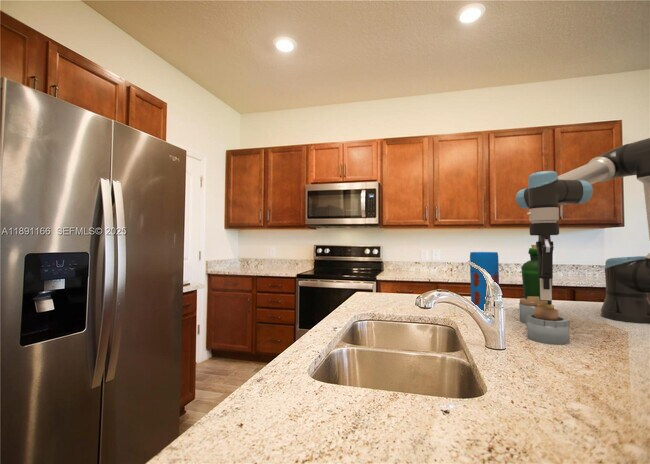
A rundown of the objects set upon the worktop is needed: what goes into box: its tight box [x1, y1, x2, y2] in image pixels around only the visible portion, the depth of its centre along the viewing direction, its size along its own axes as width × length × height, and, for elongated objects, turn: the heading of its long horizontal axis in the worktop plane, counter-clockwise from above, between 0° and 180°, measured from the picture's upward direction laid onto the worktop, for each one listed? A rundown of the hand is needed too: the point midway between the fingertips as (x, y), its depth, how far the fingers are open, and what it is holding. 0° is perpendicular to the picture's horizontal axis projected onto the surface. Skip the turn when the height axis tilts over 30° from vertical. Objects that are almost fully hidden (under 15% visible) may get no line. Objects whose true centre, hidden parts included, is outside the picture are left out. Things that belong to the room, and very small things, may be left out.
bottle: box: [520, 244, 554, 305], centre depth 129 cm, size 11×11×28 cm
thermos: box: [469, 251, 500, 311], centre depth 135 cm, size 11×11×25 cm
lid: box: [534, 304, 559, 321], centre depth 97 cm, size 6×6×5 cm
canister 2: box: [526, 314, 571, 346], centre depth 97 cm, size 11×11×6 cm
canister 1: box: [518, 296, 548, 324], centre depth 117 cm, size 9×9×9 cm
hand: (546, 299), depth 97 cm, fingers closed
